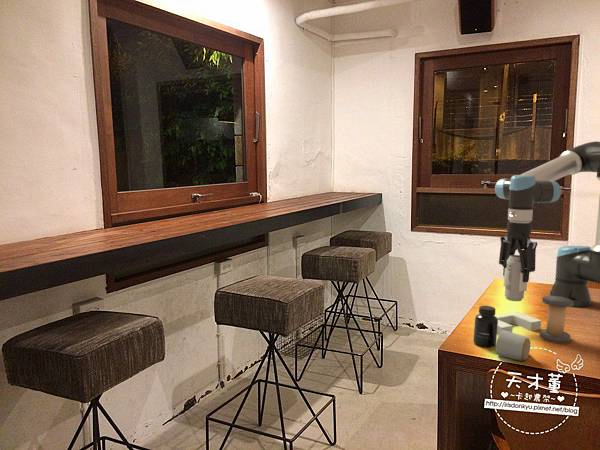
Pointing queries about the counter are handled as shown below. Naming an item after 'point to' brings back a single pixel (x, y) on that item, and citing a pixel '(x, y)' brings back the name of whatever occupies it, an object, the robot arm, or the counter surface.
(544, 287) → the counter surface
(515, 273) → the energy drink can
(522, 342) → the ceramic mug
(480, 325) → the supplement bottle
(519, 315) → the notched board
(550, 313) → the bobbin
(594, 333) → the counter surface
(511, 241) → the robot arm
